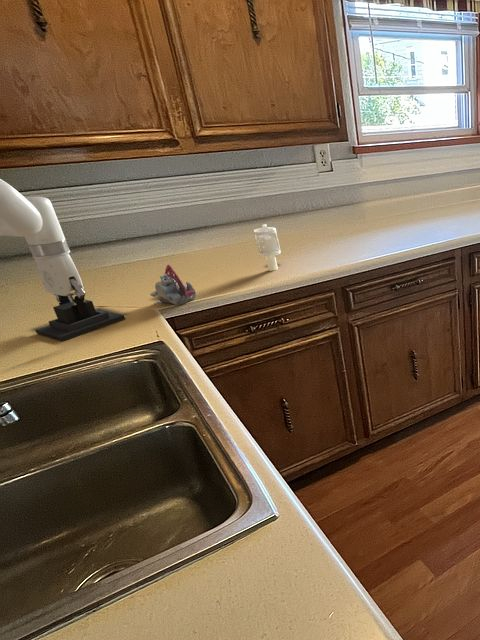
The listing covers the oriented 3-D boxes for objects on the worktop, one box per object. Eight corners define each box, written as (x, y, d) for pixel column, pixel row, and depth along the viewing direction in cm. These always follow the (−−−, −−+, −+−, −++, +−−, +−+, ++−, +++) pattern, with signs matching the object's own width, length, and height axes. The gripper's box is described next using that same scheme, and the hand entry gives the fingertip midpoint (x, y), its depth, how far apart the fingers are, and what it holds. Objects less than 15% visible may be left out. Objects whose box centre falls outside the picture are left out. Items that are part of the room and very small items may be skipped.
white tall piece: (284, 265, 184) (275, 223, 177) (283, 270, 178) (274, 227, 171) (263, 267, 182) (253, 225, 175) (262, 273, 176) (252, 229, 169)
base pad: (62, 341, 130) (57, 331, 128) (36, 333, 135) (32, 324, 133) (125, 319, 142) (122, 309, 141) (100, 312, 147) (96, 303, 146)
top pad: (69, 324, 133) (63, 309, 132) (58, 321, 135) (52, 307, 134) (97, 315, 139) (92, 301, 137) (87, 312, 141) (81, 298, 139)
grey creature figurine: (209, 289, 155) (176, 264, 145) (187, 319, 152) (152, 296, 142) (188, 283, 161) (154, 259, 151) (166, 313, 157) (131, 290, 147)
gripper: (15, 249, 129) (44, 316, 138) (51, 256, 122) (80, 326, 130) (48, 242, 135) (74, 307, 143) (85, 248, 128) (110, 316, 136)
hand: (77, 316), depth 137 cm, fingers closed on top pad, 5 cm apart
